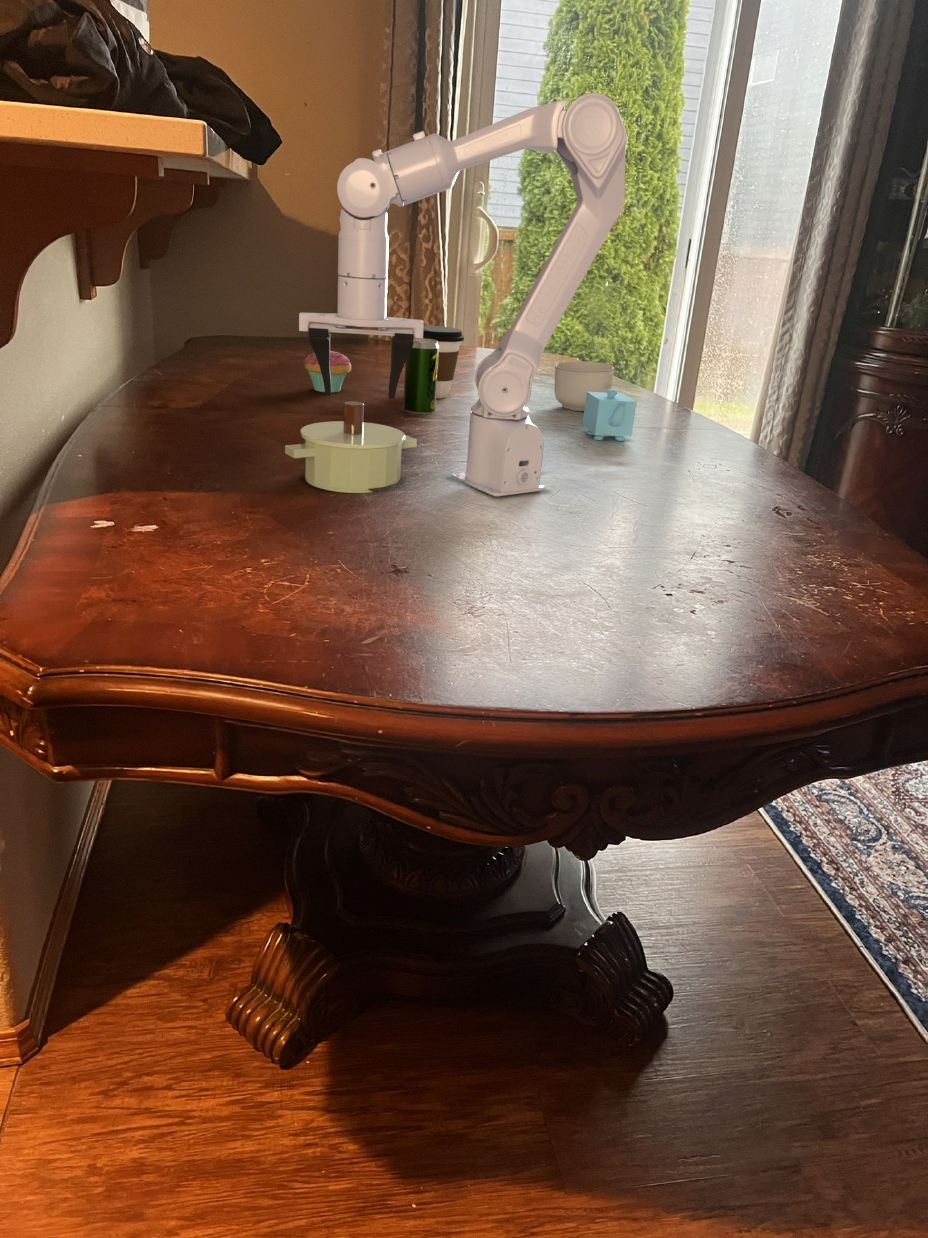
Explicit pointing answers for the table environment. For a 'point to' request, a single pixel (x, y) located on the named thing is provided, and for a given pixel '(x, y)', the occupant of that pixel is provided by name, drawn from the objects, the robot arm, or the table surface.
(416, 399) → the beer can
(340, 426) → the pale green pot lid
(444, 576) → the table surface
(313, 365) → the cupcake
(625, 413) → the teapot
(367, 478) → the pale green cooking pot
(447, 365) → the coffee cup
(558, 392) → the teacup
